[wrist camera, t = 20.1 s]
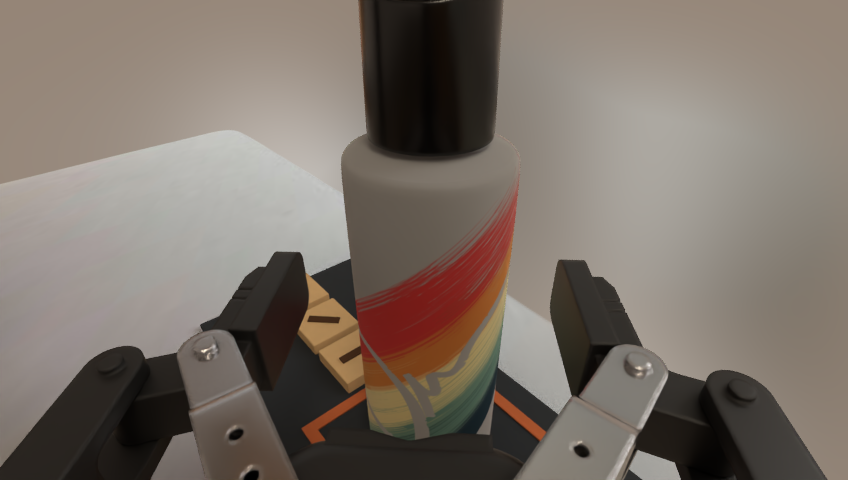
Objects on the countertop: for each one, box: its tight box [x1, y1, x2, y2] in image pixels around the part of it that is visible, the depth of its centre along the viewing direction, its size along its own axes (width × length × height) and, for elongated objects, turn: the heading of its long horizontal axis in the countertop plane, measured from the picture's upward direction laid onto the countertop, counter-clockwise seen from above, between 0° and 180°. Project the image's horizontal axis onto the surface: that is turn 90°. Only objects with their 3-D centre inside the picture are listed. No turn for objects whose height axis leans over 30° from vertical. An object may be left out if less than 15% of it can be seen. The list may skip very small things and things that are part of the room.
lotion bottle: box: [341, 0, 520, 440], centre depth 17 cm, size 6×6×20 cm
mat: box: [200, 259, 642, 480], centre depth 25 cm, size 24×12×1 cm, turn 40°
